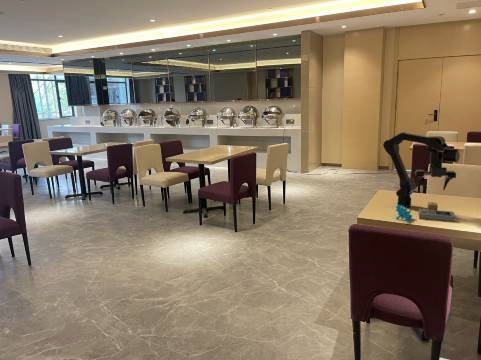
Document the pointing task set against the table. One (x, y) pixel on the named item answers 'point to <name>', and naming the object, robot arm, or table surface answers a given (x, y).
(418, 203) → the table surface
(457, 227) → the table surface
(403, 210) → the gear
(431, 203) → the wooden block
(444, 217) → the panel
